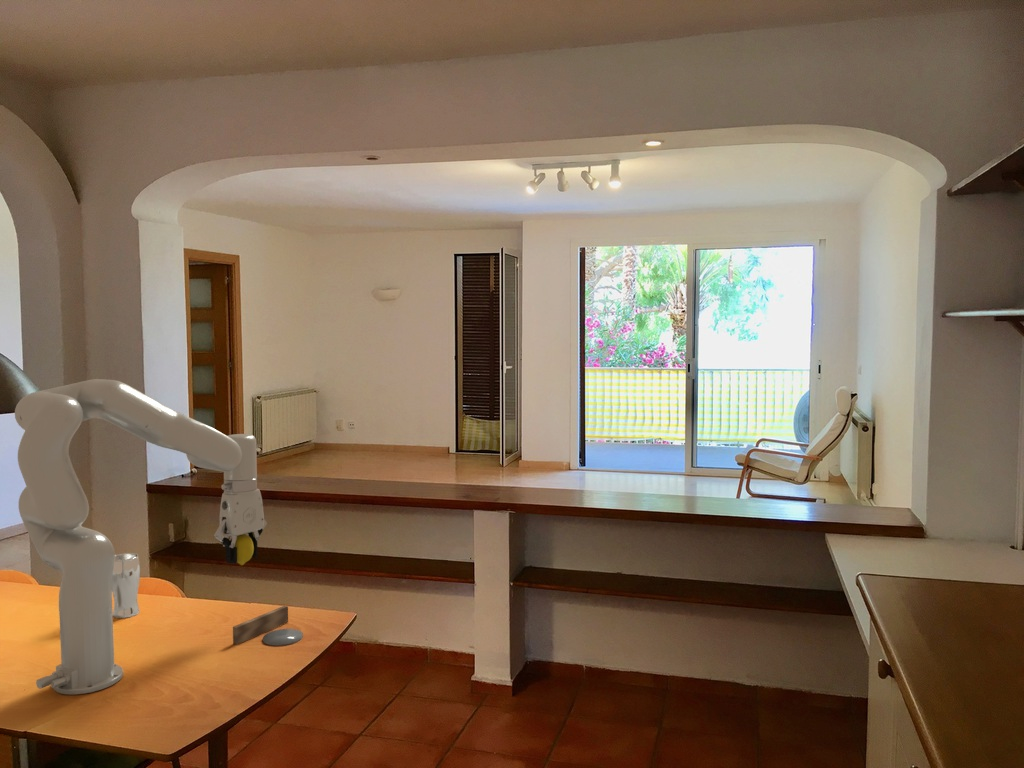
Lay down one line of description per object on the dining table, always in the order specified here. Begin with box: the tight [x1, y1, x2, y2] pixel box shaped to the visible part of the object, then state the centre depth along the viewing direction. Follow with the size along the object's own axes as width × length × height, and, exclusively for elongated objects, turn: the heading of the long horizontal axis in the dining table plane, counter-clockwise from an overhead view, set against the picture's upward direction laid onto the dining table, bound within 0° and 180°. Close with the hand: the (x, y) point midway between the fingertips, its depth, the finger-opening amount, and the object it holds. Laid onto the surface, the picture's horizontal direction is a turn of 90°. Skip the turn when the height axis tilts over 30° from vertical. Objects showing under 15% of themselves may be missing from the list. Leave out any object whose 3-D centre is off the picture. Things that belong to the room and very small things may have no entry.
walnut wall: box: [232, 605, 289, 646], centre depth 184 cm, size 16×1×4 cm, turn 151°
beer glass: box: [112, 552, 141, 619], centre depth 196 cm, size 7×7×15 cm
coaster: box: [262, 628, 304, 647], centre depth 181 cm, size 9×9×1 cm
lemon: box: [234, 533, 254, 566], centre depth 186 cm, size 6×6×8 cm
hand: (241, 558), depth 186 cm, fingers closed on lemon, 5 cm apart
